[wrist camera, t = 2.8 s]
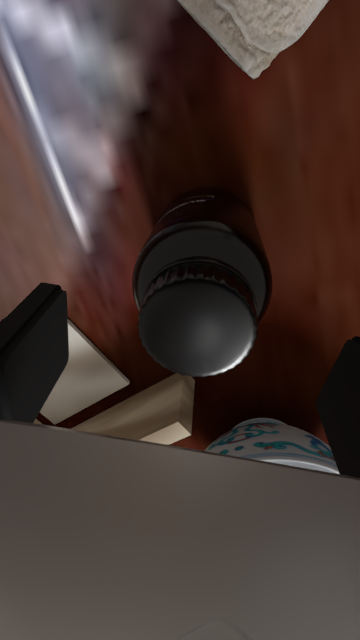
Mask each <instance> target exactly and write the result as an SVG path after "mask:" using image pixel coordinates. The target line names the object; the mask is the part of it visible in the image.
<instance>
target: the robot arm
mask: <svg viewBox="0 0 360 640" xmlns="http://www.w3.org/2000/svg"><path fill="white" fill-rule="evenodd" d="M68 359H69V343H68V316H67V294H66V291H63V290H62V289H61V287H60V285H54V284H48V283H40V284H39V285H38V286H37V287H36V288H35V289H34V290H33V291H32V292H31V293H30V294H29V295H28V296H27V297H26V298H25V299H24V300H23V301H22V302H21V303H20V304H19V305H18V306H17V307H16V308H15V309H14V310H13V311H12V312H11V313H10V314H9V315H8V316H7V317H6V318H4V319H3V320H2V321H1V322H0V640H360V337H358V336H356V337H354V338H352V340H347V341H346V343H345V344H344V346H343V348H342V350H341V352H340V354H339V356H338V358H337V360H336V362H335V364H334V366H333V368H332V370H331V372H330V374H329V376H328V378H327V380H326V382H325V384H324V386H323V388H322V390H321V392H320V393H319V395H318V398H317V402H316V406H317V410H318V413H319V416H320V419H321V422H322V424H323V427H324V430H325V433H326V436H327V439H328V442H329V445H330V448H331V451H332V454H333V456H334V459H335V462H336V465H337V468H338V471H339V474H335V473H330V472H324V471H318V470H312V469H307V468H301V467H295V466H289V465H284V464H278V463H272V462H267V461H261V460H255V459H249V458H243V457H237V456H231V455H225V454H219V453H214V452H208V451H202V450H196V449H190V448H184V447H178V446H172V445H166V444H160V443H154V442H148V441H142V440H135V439H129V438H123V437H117V436H111V435H105V434H99V433H93V432H86V431H80V430H74V429H68V428H61V427H55V426H48V425H42V424H35V423H33V422H34V421H35V419H36V417H37V416H38V414H39V412H40V410H41V409H42V407H43V405H44V403H45V402H46V400H47V398H48V397H49V395H50V393H51V391H52V390H53V388H54V386H55V384H56V383H57V381H58V379H59V377H60V376H61V374H62V372H63V371H64V369H65V367H66V365H67V363H68Z"/></svg>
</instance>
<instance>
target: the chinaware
mask: <svg viewBox="0 0 360 640" xmlns="http://www.w3.org/2000/svg"><path fill="white" fill-rule="evenodd" d="M204 451H208V452H214V453H219V454H225V455H231V456H237V457H243V458H249V459H255V460H261V461H267V462H272V463H278V464H284V465H289V466H295V467H301V468H307V469H312V470H318V471H324V472H330V473H335V474H339V471H338V468H337V465H336V462H335V459H334V456H333V454H332V451H331V448H330V446H329V445H327V444H326V443H325V442H323V441H322V440H320V439H319V438H317V437H315V436H314V435H312V434H310V433H308V432H306V431H303V430H301V429H299V428H296V427H293V426H289V425H286V424H285V423H283V422H281V421H278V420H275V419H270V418H254V419H250V420H246V421H244V422H241V423H240V424H238V425H236V426H235V427H234V428H233V429H232V430H230V431H228V432H226V433H225V434H223V435H221V436H220V437H219V438H217V439H216V440H215V441H213V442H212V443H211V444H210V445H209V446H208V447H207V448H206V449H205V450H204Z"/></svg>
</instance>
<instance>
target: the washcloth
mask: <svg viewBox="0 0 360 640" xmlns="http://www.w3.org/2000/svg"><path fill="white" fill-rule="evenodd" d="M177 1H178V2H179V3H180V4H181V5H182V7H183V8H184V9H185V10H186V11H187V12H188V13H189V14H190V15H191V16H192V17H193V19H194V20H195V21H196V22H197V23H198V24H199V25H200V26H201V27H202V28H203V29H204V30H205V31H206V32H207V33H208V34H209V35H210V36H211V37H212V39H213V40H214V41H215V42H216V43H217V44H218V46H219V47H220V48H221V49H222V50H223V51H224V52H225V53H226V54H227V55H228V56H229V57H230V59H232V60H233V61H234V62H235V63H236V64H237V65H238V66H239V67H241V68H242V70H243V71H245V72H246V73H247V74H248V75H249V76H250V77H251V78H253V79H255V78H257V77H259V76H260V74H261V72H262V71H263V70H265V69H266V68H267V67H268V66H269V65H270V63H271V61H272V60H273V58H275V57H276V56H277V55H278V53H279V52H280V51H282V50H284V49H286V48H287V47H289V46H290V45H292V44H293V43H294V42H295V41H297V40H298V39H299V38H300V37H301V36H302V35H303V33H304V32H305V31H306V30H307V28H308V27H309V26H310V25H311V23H312V22H313V21H314V19H315V18H316V17H317V16H318V14H319V12H320V11H321V10H322V9H323V8H324V6H325V5H326V3H327V2H328V1H329V0H177Z"/></svg>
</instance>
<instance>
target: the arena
mask: <svg viewBox="0 0 360 640" xmlns="http://www.w3.org/2000/svg"><path fill="white" fill-rule="evenodd" d="M68 343H69V359H68V363H67V365H66V367H65V369H64V371H63V372H62V374H61V376H60V377H59V379H58V381H57V383H56V384H55V386H54V388H53V390H52V391H51V393H50V395H49V397H48V398H47V400H46V402H45V403H44V405H43V407H42V409H41V410H40V413H41V414H42V415H43V416H45V417H46V418H47V419H48V420H50V421H51V422H52V423H53V424H54V425H56V424H57V423H59V422H61V421H63V420H65V419H67V418H68V417H70V416H72V415H74V414H76V413H77V412H79V411H81V410H83V409H85V408H87V407H88V406H90V405H92V404H94V403H96V402H98V401H99V400H101V399H103V398H105V397H107V396H109V395H110V394H112V393H114V392H116V391H118V390H120V389H121V388H123V387H125V386H127V385H129V383H130V381H129V380H128V379H127V378H126V377H125V376H124V375H123V374H122V373H121V372H120V371H119V370H118V369H117V368H116V367H115V366H114V365H113V364H112V363H111V362H110V361H109V360H108V359H107V358H106V356H105V355H104V354H103V353H102V352H101V351H100V350H99V349H98V348H97V347H96V346H95V345H94V344H93V343H92V342H91V341H90V340H89V339H88V338H87V337H86V336H85V335H84V334H83V333H82V332H81V331H80V330H79V329H78V328H77V327H76V326H75V325H74V324H73V323H72V322H71V321H70V320H69V319H68ZM194 386H195V380H194V379H193V378H192V377H191V376H188V375H180V374H179V373H175V374H173V375H172V376H170V377H168V378H166V379H164V380H162V381H160V382H158V383H156V384H154V385H153V386H151V387H149V388H147V389H145V390H143V391H141V392H139V393H137V394H135V395H134V396H132V397H130V398H128V399H126V400H124V401H122V402H120V403H118V404H117V405H115V406H113V407H111V408H109V409H107V410H105V411H103V412H101V413H99V414H98V415H96V416H94V417H92V418H90V419H88V420H86V421H84V422H82V423H81V424H79V425H77V426H75V427H73V428H71V429H74V430H80V431H86V432H93V433H99V434H105V435H111V436H117V437H123V438H129V439H135V440H142V441H148V442H154V443H160V444H166V445H169V444H171V443H174V442H176V441H178V440H181V439H183V438H185V437H187V436H190V435H191V430H192V416H193V401H194ZM33 423H35V424H42V423H41V422H40V421H38V420H37V419H35V421H34V422H33ZM42 425H43V424H42Z"/></svg>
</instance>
